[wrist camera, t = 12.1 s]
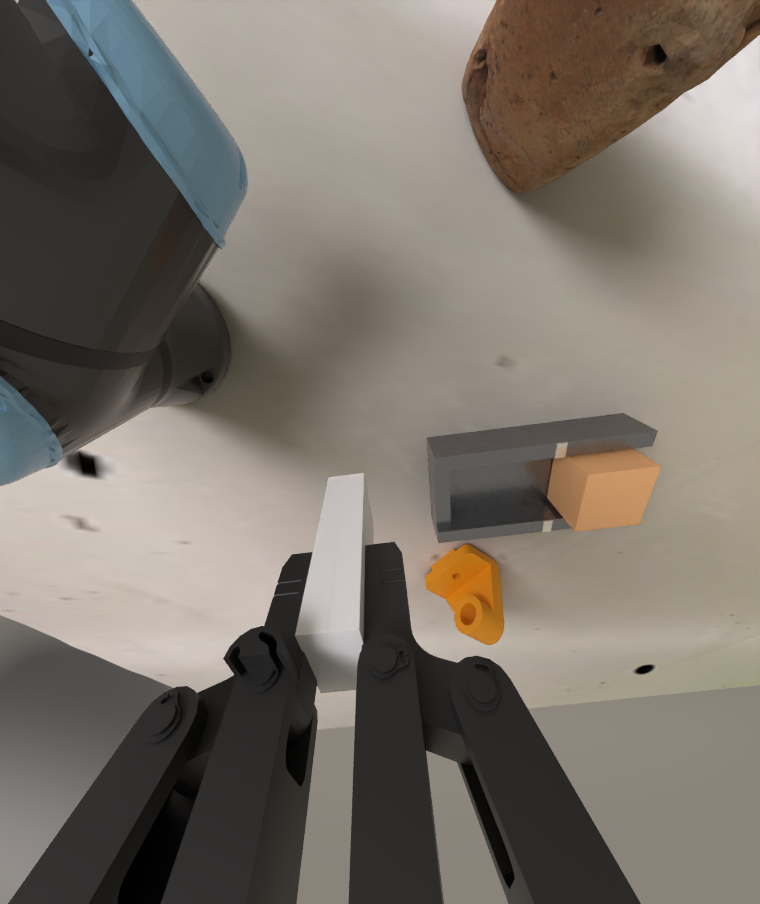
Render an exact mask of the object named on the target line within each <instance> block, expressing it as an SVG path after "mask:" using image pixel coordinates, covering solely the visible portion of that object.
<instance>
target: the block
mask: <svg viewBox="0 0 760 904" xmlns="http://www.w3.org/2000/svg"><path fill="white" fill-rule="evenodd" d="M758 35H760V0H497V1H496V3H495V5H494V7H493V9H492V11H491V13H490V15H489V17H488V19H487V21H486V23H485V25H484V28H483V30H482V32H481V34H480V36H479V38H478V41H477V43H476V45H475V47H474V49H473V51H472V53H471V56H470V58H469V61H468V64H467V66H466V70H465V74H464V78H463V82H462V94H463V99H464V102H465V104H466V107H467V111H468V114H469V118H470V121H471V124H472V128H473V131H474V134H475V136H476V138H477V140H478V142H479V145H480V147H481V149H482V151H483V153H484V155H485V157H486V158H487V160H488V162H489V164H490V165H491V167H492V168H493V170H494V171H495V172H496V174H497V175H498V177H499V178H500V179H501V180H502V181H503V182H504V183H505V184H506V186H507V187H509V188H510V189H511V190H513V191H514V192H517V193H525V192H529V191H532V190H535V189H538V188H541V187H543V186H544V185H546V184H549V183H551V182H553V181H555V180H556V179H558V178H560V177H561V176H563V175H564V174H566V173H568V172H569V171H571V170H572V169H574V168H575V167H576V166H578V165H579V164H580V163H582V162H584V161H586V160H588V159H589V158H591V157H593V156H595V155H597V154H598V153H600V152H601V151H603V150H604V149H606V148H607V147H608V146H610V145H611V144H613V143H614V142H616V141H618V140H619V139H621V138H623V137H624V136H626V135H627V134H629V133H630V132H632V131H633V130H635V129H636V128H637V127H639V126H640V125H642V124H643V123H644V122H646V121H647V120H649V119H650V118H652V117H653V116H654V115H656V114H657V113H659V112H660V111H662V110H663V109H665V108H666V107H667V106H668V105H669V104H671V103H672V102H673V101H674V100H675V99H677V98H678V97H679V96H680V95H682V94H683V93H684V92H686V91H688V90H690V89H692V88H694V87H695V86H697V85H699V84H701V83H702V82H704V81H706V80H707V79H709V78H710V77H711V76H712V75H713V74H714V73H715V72H716V71H717V70H719V69H720V68H721V67H722V66H723V65H724V64H725V63H726V62H728V61H729V60H730V59H731V58H732V57H734V56H735V55H736V54H737V53H738V52H740V51H741V50H742V49H743V48H744V47H746V46H747V45H748V44H749V43H750V42H751V41H753V40H754V39H755V38H756V37H757V36H758Z"/></svg>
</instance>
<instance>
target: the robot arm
mask: <svg viewBox="0 0 760 904" xmlns="http://www.w3.org/2000/svg"><path fill="white" fill-rule="evenodd" d="M247 185H248V176H247V169H246V165H245V161H244V159H243V156H242V153H241V151H240V149H239V147H238V145H237V144H236V142H235V140H234V138H233V137H232V136H231V134H230V133H229V131H228V130H227V128H226V127H225V125H224V124H223V122H222V121H221V120H220V118H219V117H218V115H217V114H216V112H215V111H214V109H213V108H212V107H211V105H210V104H209V103H208V101H207V100H206V98H205V97H204V96H203V94H202V93H201V91H200V90H199V89H198V87H197V86H196V85H195V83H194V82H193V81H192V79H191V78H190V77H189V75H188V74H187V72H186V71H185V70H184V68H183V67H182V66H181V64H180V63H179V62H178V60H177V59H176V58H175V56H174V55H173V54H172V52H171V51H170V50H169V48H168V47H167V46H166V44H165V43H164V42H163V40H162V39H161V38H160V36H159V35H158V34H157V32H156V31H155V30H154V28H153V27H152V26H151V24H150V23H149V22H148V20H147V19H146V18H145V17H144V15H143V14H142V13H141V11H140V10H139V9H138V7H137V6H136V5H135V3H134V2H133V1H132V0H0V486H3V485H6V484H10V483H12V482H15V481H17V480H19V479H21V478H24V477H26V476H28V475H30V474H32V473H35V472H37V471H39V470H41V469H44V468H49V467H52V466H54V465H56V464H57V463H58V462H59V461H60V460H62V458H63V457H65V456H67V455H69V454H70V453H72V452H74V451H76V450H77V449H79V448H81V447H83V446H84V445H86V444H88V443H90V442H91V441H93V440H95V439H96V438H98V437H100V436H102V435H103V434H105V433H107V432H109V431H110V430H112V429H114V428H116V427H117V426H119V425H121V424H123V423H124V422H126V421H128V420H130V419H131V418H133V417H135V416H137V415H138V414H140V413H142V412H143V411H145V410H147V409H148V408H153V407H167V406H179V405H184V404H188V403H191V402H194V401H196V400H199V399H200V398H202V397H204V396H205V395H207V394H208V393H210V392H211V391H212V390H214V389H215V388H216V387H217V386H218V385H219V384H220V382H221V381H222V380H223V378H224V376H225V374H226V372H227V369H228V366H229V362H230V340H229V335H228V331H227V328H226V325H225V322H224V320H223V318H222V315H221V313H220V312H219V310H218V308H217V306H216V305H215V303H214V302H213V300H212V299H211V298H210V296H209V295H208V294H207V293H206V292H205V290H204V289H203V288H202V287H201V286H200V285H199V284H198V281H199V279H200V278H201V276H202V274H203V273H204V271H205V269H206V268H207V266H208V264H209V263H210V261H211V259H212V258H213V256H214V255H215V253H216V251H217V250H218V248H220V249H222V248H223V246H224V245H225V239H224V236H225V234H226V232H227V230H228V228H229V226H230V224H231V222H232V220H233V218H234V216H235V215H236V213H237V211H238V209H239V207H240V205H241V203H242V201H243V199H244V197H245V195H246V191H247ZM223 659H224V660H225V662H226V663H227V664H228V666H229V667H230V669H231V670H232V672H233V673H234V676H232V677H230V678H228V679H227V680H225V681H223V682H220V683H218V684H216V685H214V686H212V687H209V688H207V689H205V690H203V691H201V692H198V693H196V692H195V691H194V690H193V689H191V688H189V687H188V686H184V687H176V688H173V689H171V690H169V691H167V692H165V693H163V694H162V695H161V696H159V697H158V698H157V699H156V700H154V701H153V702H152V703H151V704H150V705H149V707H148V708H147V709H146V710H145V711H144V713H143V714H142V715H141V716H140V717H139V719H138V720H137V722H136V723H135V724H134V726H133V727H132V729H131V730H130V732H129V733H128V734H127V736H126V738H125V739H124V740H123V742H122V743H121V744H120V746H119V747H118V749H117V750H116V751H115V753H114V754H113V756H112V757H111V759H110V760H109V761H108V763H107V764H106V766H105V767H104V768H103V770H102V771H101V773H100V774H99V776H98V777H97V779H96V780H95V781H94V783H93V784H92V786H91V787H90V788H89V790H88V791H87V793H86V794H85V796H84V797H83V798H82V800H81V801H80V803H79V804H78V806H77V807H76V808H75V810H74V811H73V812H72V814H71V815H70V817H69V818H68V820H67V821H66V822H65V824H64V825H63V827H62V828H61V830H60V831H59V832H58V834H57V835H56V837H55V838H54V839H53V841H52V842H51V844H50V845H49V847H48V848H47V849H46V851H45V852H44V854H43V855H42V856H41V858H40V859H39V861H38V862H37V864H36V865H35V867H34V868H33V869H32V871H31V872H30V874H29V875H28V877H27V878H26V880H25V881H24V882H23V884H22V885H21V887H20V888H19V889H18V891H17V892H16V893H15V895H14V896H13V898H12V899H11V900H10V902H9V903H8V904H296V901H297V893H298V884H299V875H300V867H301V859H302V850H303V842H304V841H303V840H304V833H305V824H306V816H307V808H308V799H309V791H310V782H311V774H312V765H313V756H314V748H315V739H316V731H317V722H318V720H317V709H316V707H315V705H314V702H315V694H316V687H317V686H318V688H319V690H320V692H321V693H327V692H337V691H347V690H356V714H355V742H354V769H353V771H354V772H353V798H352V826H351V853H350V882H349V904H444V901H443V893H442V884H441V875H440V867H439V858H438V850H437V842H436V833H435V825H434V816H433V807H432V799H431V790H430V782H429V773H428V765H427V756H426V750H427V751H429V752H432V753H434V754H437V755H440V756H442V757H445V758H448V759H451V760H453V761H456V762H457V763H458V766H459V769H460V771H461V774H462V777H463V780H464V782H465V785H466V788H467V790H468V793H469V796H470V799H471V802H472V804H473V807H474V810H475V813H476V815H477V818H478V821H479V824H480V826H481V829H482V832H483V835H484V837H485V840H486V843H487V846H488V848H489V851H490V854H491V857H492V859H493V862H494V865H495V868H496V870H497V873H498V876H499V879H500V881H501V884H502V887H503V889H504V892H505V895H506V898H507V901H508V903H509V904H640V902H639V900H638V898H637V896H636V895H635V893H634V891H633V890H632V888H631V886H630V885H629V883H628V881H627V879H626V878H625V876H624V874H623V872H622V871H621V869H620V867H619V865H618V864H617V862H616V860H615V859H614V857H613V855H612V854H611V852H610V850H609V848H608V846H607V845H606V843H605V842H604V840H603V838H602V836H601V834H600V833H599V831H598V829H597V828H596V826H595V824H594V822H593V821H592V819H591V817H590V815H589V814H588V812H587V810H586V809H585V807H584V805H583V803H582V802H581V800H580V798H579V797H578V795H577V793H576V792H575V790H574V788H573V786H572V784H571V783H570V781H569V779H568V778H567V776H566V774H565V772H564V771H563V769H562V767H561V766H560V764H559V762H558V760H557V759H556V757H555V755H554V753H553V752H552V750H551V748H550V747H549V745H548V743H547V741H546V740H545V738H544V736H543V735H542V733H541V731H540V729H539V728H538V726H537V724H536V723H535V721H534V719H533V717H532V716H531V714H530V712H529V710H528V709H527V707H526V705H525V704H524V702H523V700H522V698H521V697H520V695H519V693H518V691H517V690H516V688H515V686H514V685H513V683H512V681H511V679H510V678H509V677H508V675H507V674H506V673H505V672H504V670H503V669H502V668H501V667H500V666H499V665H497V664H496V663H494V662H493V661H491V660H490V659H487V658H483V657H479V656H473V657H466V658H464V659H463V660H461V661H460V662H458V663H456V662H452V661H448V660H445V659H441V658H438V657H435V656H433V655H430V654H429V653H427V652H426V651H424V650H423V649H422V648H421V647H420V646H419V645H418V643H417V642H416V640H415V638H414V637H413V635H412V630H411V622H410V614H409V606H408V597H407V589H406V581H405V573H404V565H403V558H402V553H401V551H400V550H399V548H398V547H397V545H396V544H395V542H390V543H381V544H373V519H372V514H371V508H370V503H369V497H368V492H367V486H366V481H365V475H364V473H359V474H351V475H343V476H335V477H329V478H328V482H327V487H326V492H325V497H324V501H323V506H322V511H321V515H320V520H319V525H318V529H317V534H316V539H315V544H314V548H313V552H310V553H301V554H293V555H291V557H290V558H289V559H288V561H287V562H286V563H285V565H284V566H283V567H282V570H281V574H280V577H279V580H278V585H277V587H276V590H275V593H274V597H273V600H272V603H271V606H270V609H269V613H268V616H267V619H266V622H265V626H260V627H257V628H253V629H250V630H249V631H247V632H246V633H244V634H243V635H241V636H240V637H239V638H238V639H237V640H236V641H235V642H234V643H233V644H232V645H231V646H230V648H229V649H228V651H227V653H226V655H225V657H224V658H223Z"/></svg>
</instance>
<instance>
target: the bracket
mask: <svg viewBox="0 0 760 904" xmlns="http://www.w3.org/2000/svg"><path fill="white" fill-rule="evenodd" d="M425 582H426V588H427V590H429V591H431V592H433V593H435V594H437V595H439V596H441V597H443V598H445V599H446V601H447V602H448V604H449V605H450V606H451V608H452V609H453V611H454V612H455V616H454V618H455V624H456V627H457V629H458V630H459V631H460V632H461V633H463V634H465V635H467V636H469V637H471V638H474V639H476V640H478V641H480V642H482V643H484V644H487V645H492V644H494V643H496V642H497V641H498V640H499V639H500V638H501V636H502V634H503V630H504V616H503V604H502V592H501V579H500V569H499V567H498V565H497V563H496V561H495V560H493V559H492V558H490V557H489V556H487V555H485V554H484V553H482V552H480V551H479V550H477V549H476V548H474V547H472V546H471V545H468V544H466V545H463V546H461V547H460V548H459V549H458V550H456V549H454V548H453V549H452V550H451V551H450V552H449V553H448V554H446V555H445V556H444V557H443V558H442V559H440V560H439V561H438V562H437V563H436V564H434V565H433V566H432V571H431V572H430V573H429V574H427V575H426V576H425Z"/></svg>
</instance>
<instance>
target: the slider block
mask: <svg viewBox="0 0 760 904" xmlns="http://www.w3.org/2000/svg"><path fill="white" fill-rule="evenodd" d="M660 469H661V466H660V465H659V464H657V463H655V462H654V461H652V460H651V459H649V458H648V457H646V456H644V455H643V454H641V453H640V452H638V451H636V450H635V449H633V448H631V449H623V450H615V451H606V452H598V453H590V454H582V455H573V456H565V458H556V459H555V458H553V464H552V470H551V476H550V482H549V487H548V493H547V498H548V500H549V501H550V502H551V503H552V505H553V506H554V507H555V508H556V509H557V511H558V512H559V513H560V514H561V515H562V517H563V518H564V519H565V520H566V522H567V523H568V524H569V525H570V526H571V528H572V529H573V530H574V531H584V530H593V529H602V528H611V527H620V526H629V525H638V524H640V522H641V519H642V517H643V514H644V511H645V509H646V506H647V503H648V501H649V498H650V495H651V493H652V490H653V487H654V485H655V482H656V479H657V477H658V474H659V471H660Z"/></svg>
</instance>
